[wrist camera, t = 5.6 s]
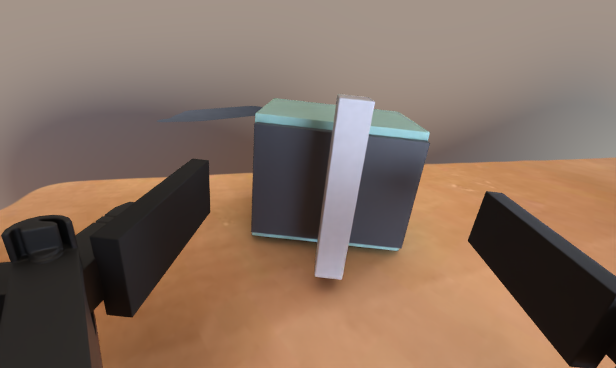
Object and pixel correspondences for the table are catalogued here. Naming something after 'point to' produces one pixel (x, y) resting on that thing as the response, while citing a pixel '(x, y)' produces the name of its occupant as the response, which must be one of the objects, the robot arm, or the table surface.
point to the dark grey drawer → (335, 183)
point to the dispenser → (324, 119)
